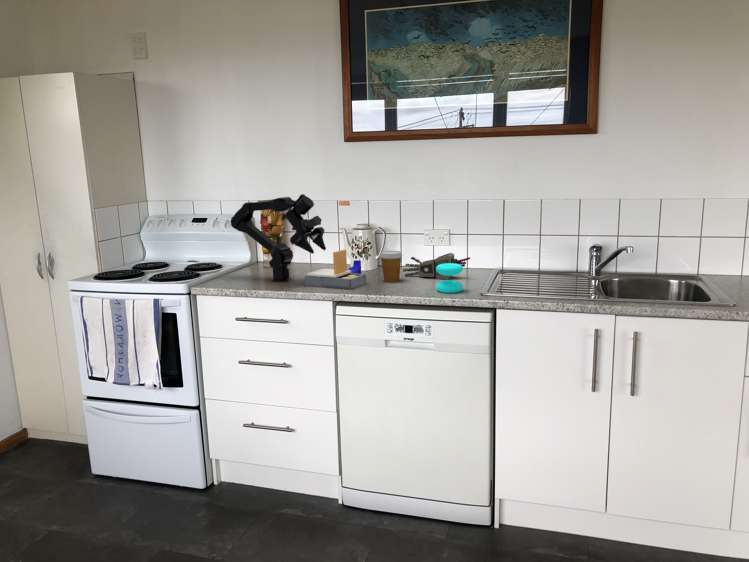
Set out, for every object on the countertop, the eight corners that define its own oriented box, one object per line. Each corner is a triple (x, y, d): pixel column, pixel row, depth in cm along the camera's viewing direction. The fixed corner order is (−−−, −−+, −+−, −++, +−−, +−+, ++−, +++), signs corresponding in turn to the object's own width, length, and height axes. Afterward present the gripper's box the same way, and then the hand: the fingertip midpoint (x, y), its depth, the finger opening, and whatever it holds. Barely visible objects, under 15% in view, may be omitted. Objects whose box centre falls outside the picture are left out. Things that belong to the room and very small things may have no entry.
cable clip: (353, 272, 269) (353, 259, 268) (361, 273, 266) (360, 260, 265) (336, 277, 259) (335, 263, 258) (344, 278, 257) (343, 264, 255)
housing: (305, 285, 243) (304, 275, 242) (321, 280, 253) (321, 270, 252) (351, 289, 232) (350, 279, 232) (366, 283, 243) (365, 274, 242)
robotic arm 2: (397, 258, 252) (466, 253, 240) (403, 255, 259) (471, 250, 247) (400, 283, 254) (469, 278, 242) (406, 279, 261) (473, 275, 249)
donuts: (451, 268, 216) (430, 265, 224) (451, 294, 218) (430, 291, 226) (468, 264, 223) (447, 261, 230) (468, 290, 225) (447, 286, 232)
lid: (306, 275, 242) (305, 251, 240) (323, 270, 252) (322, 247, 250) (335, 277, 235) (334, 253, 233) (351, 272, 245) (350, 249, 243)
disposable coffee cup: (397, 277, 254) (397, 249, 251) (406, 281, 245) (406, 252, 242) (377, 279, 250) (376, 251, 248) (385, 283, 242) (384, 254, 239)
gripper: (296, 211, 235) (319, 242, 233) (321, 207, 251) (343, 236, 249) (280, 229, 240) (302, 259, 238) (305, 224, 256) (326, 252, 254)
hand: (319, 251), depth 245 cm, fingers open, 9 cm apart
